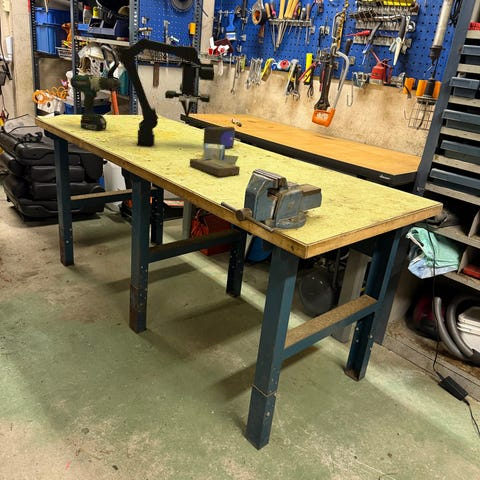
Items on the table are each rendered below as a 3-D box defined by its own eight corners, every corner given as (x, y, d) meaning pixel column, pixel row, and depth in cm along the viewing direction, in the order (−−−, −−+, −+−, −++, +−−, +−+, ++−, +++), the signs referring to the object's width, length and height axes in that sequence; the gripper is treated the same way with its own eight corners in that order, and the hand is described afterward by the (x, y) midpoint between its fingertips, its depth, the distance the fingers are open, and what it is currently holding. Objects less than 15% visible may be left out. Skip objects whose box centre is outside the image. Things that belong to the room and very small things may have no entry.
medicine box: (203, 143, 180) (224, 144, 181) (203, 153, 182) (223, 155, 183) (203, 147, 173) (225, 148, 174) (203, 158, 175) (224, 159, 176)
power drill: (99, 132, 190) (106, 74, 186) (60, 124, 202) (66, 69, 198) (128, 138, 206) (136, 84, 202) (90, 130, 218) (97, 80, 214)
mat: (202, 160, 172) (202, 159, 172) (208, 153, 184) (208, 152, 184) (234, 164, 171) (234, 163, 171) (238, 157, 184) (238, 156, 184)
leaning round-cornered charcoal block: (207, 150, 190) (209, 128, 186) (202, 147, 194) (203, 126, 190) (237, 148, 199) (239, 128, 196) (231, 146, 203) (233, 126, 199)
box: (217, 177, 150) (218, 168, 149) (188, 166, 162) (189, 158, 161) (240, 175, 158) (241, 166, 156) (210, 164, 169) (211, 156, 168)
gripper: (212, 80, 187) (209, 116, 194) (169, 75, 187) (168, 112, 193) (210, 81, 177) (208, 120, 183) (165, 77, 176) (164, 116, 183)
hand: (187, 117), depth 186 cm, fingers closed
